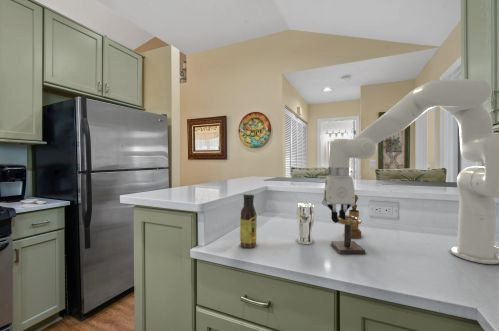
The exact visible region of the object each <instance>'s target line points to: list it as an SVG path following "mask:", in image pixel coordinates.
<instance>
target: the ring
mask: <svg viewBox="0 0 499 331" xmlns="http://www.w3.org/2000/svg"><path fill="white" fill-rule="evenodd" d="M345 218H350V219H352V220H353V221H351V220H343V219H340V218H339V215H337V223H338V224H341V225H344V226H345V225H358V226H359V225H361V224H362V219H361V217H359V218H358V217H354V216H349V214H348V215H347V214H345Z"/></svg>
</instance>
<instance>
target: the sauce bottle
mask: <svg viewBox="0 0 499 331" xmlns="http://www.w3.org/2000/svg"><path fill="white" fill-rule="evenodd" d="M254 199H255V194H254V193H244V194H243V207H242V208H241V210H240V220H239V222H240V224H239V225H240V227H239V232H240V233H239V242H240V247H242V248H248V249H250V248H254V247H256V245H257V227H258V226H257V223H258V222H257V218H258V217H257V216H258V215H257V212H256V209H255V206H254Z"/></svg>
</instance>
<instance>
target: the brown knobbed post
mask: <svg viewBox="0 0 499 331" xmlns="http://www.w3.org/2000/svg"><path fill="white" fill-rule="evenodd" d="M358 201H359V196H358V195H357V194H355V205H354V206H352V207H351V209H348V210H349V211H348V215H349V216H354V217H358V218H360V210H357V207H358V205H357V202H358ZM352 221H353V220H352ZM361 238H362V231H361V230H360V228H359V225H352V226H351V239H361Z"/></svg>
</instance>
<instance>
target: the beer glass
mask: <svg viewBox="0 0 499 331" xmlns="http://www.w3.org/2000/svg"><path fill="white" fill-rule="evenodd" d="M314 223H315V205H314V204H312V203H297V204H296V225H297V237H296V238H297V239H296V241H297V243H298V244H302V245H311V244H313V241H314V240H313V236H312V233H313V227H314Z"/></svg>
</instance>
